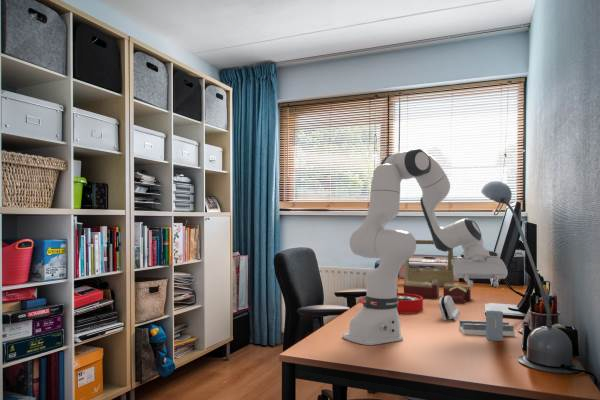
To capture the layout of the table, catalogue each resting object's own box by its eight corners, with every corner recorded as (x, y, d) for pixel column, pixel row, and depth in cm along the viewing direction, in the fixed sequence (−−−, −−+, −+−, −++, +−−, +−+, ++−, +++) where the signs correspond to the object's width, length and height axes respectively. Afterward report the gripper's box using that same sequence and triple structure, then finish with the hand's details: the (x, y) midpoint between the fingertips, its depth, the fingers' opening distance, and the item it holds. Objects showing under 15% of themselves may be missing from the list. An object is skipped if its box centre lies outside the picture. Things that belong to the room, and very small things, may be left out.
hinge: (456, 321, 184) (447, 298, 185) (445, 324, 185) (436, 300, 187) (460, 313, 198) (452, 292, 200) (450, 316, 200) (442, 294, 202)
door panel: (488, 340, 156) (488, 312, 156) (486, 338, 158) (485, 310, 159) (503, 341, 155) (502, 312, 156) (500, 338, 158) (500, 311, 158)
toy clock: (374, 297, 205) (387, 291, 222) (374, 310, 204) (387, 303, 222) (417, 302, 195) (427, 295, 213) (417, 315, 195) (427, 307, 212)
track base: (464, 334, 164) (464, 324, 164) (458, 328, 172) (458, 319, 172) (514, 336, 162) (514, 326, 162) (506, 330, 170) (506, 321, 170)
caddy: (449, 284, 285) (449, 238, 286) (454, 286, 274) (454, 238, 275) (404, 283, 286) (404, 237, 287) (407, 286, 276) (407, 238, 277)
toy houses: (470, 298, 238) (470, 279, 238) (469, 305, 219) (469, 284, 219) (388, 291, 256) (388, 274, 256) (380, 297, 237) (380, 278, 237)
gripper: (451, 252, 179) (457, 280, 169) (503, 253, 177) (512, 281, 167) (448, 262, 183) (454, 290, 173) (499, 263, 181) (508, 291, 171)
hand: (483, 285), depth 170 cm, fingers open, 8 cm apart
